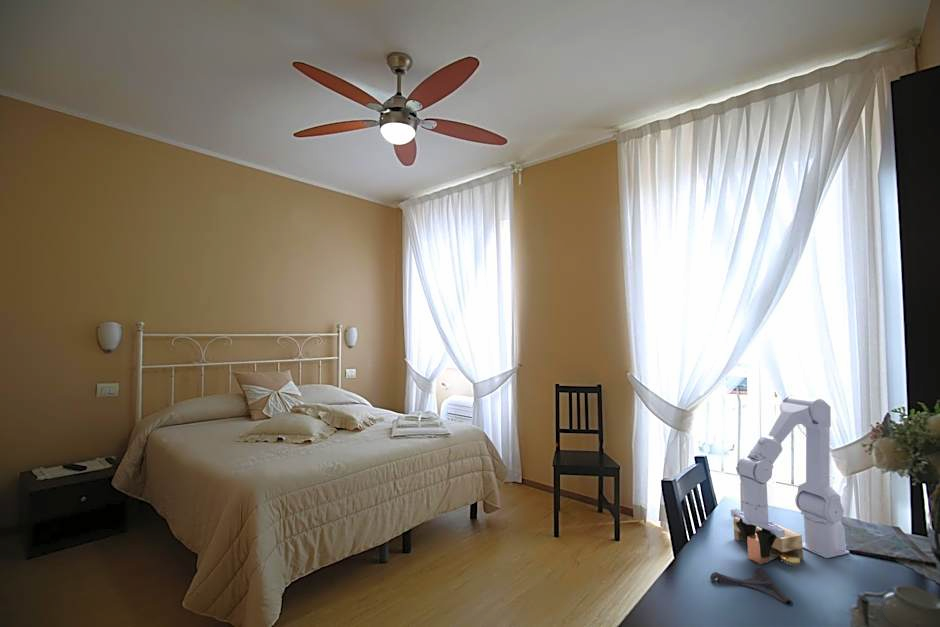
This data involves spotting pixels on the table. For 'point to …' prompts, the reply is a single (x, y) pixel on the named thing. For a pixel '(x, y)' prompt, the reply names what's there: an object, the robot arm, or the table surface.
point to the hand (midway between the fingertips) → (757, 552)
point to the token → (790, 558)
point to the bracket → (755, 584)
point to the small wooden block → (755, 550)
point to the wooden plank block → (779, 540)
